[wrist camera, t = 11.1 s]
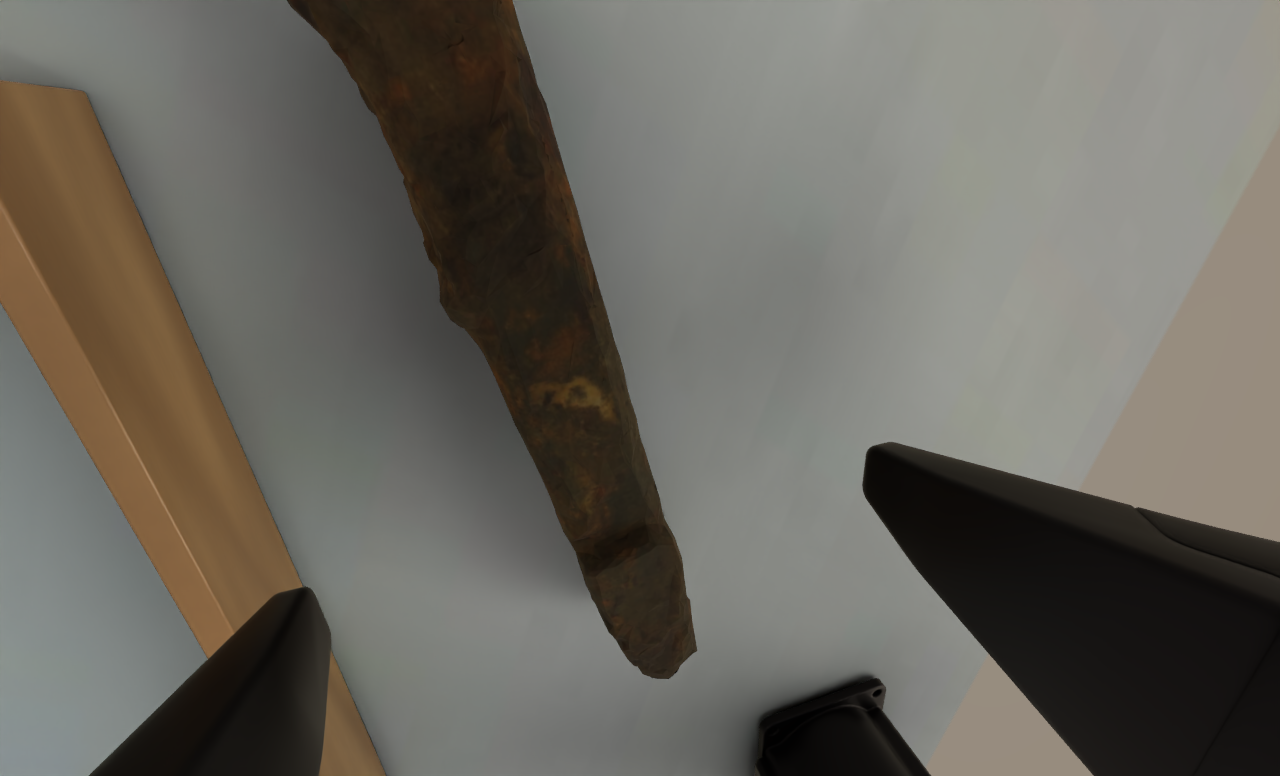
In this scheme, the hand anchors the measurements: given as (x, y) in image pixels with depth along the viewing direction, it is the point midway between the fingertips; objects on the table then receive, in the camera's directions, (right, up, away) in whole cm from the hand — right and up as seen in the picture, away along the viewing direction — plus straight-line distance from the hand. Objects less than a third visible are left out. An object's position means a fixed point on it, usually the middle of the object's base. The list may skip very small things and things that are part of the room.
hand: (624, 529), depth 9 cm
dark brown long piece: (-2, +3, +7) cm, 8 cm away
